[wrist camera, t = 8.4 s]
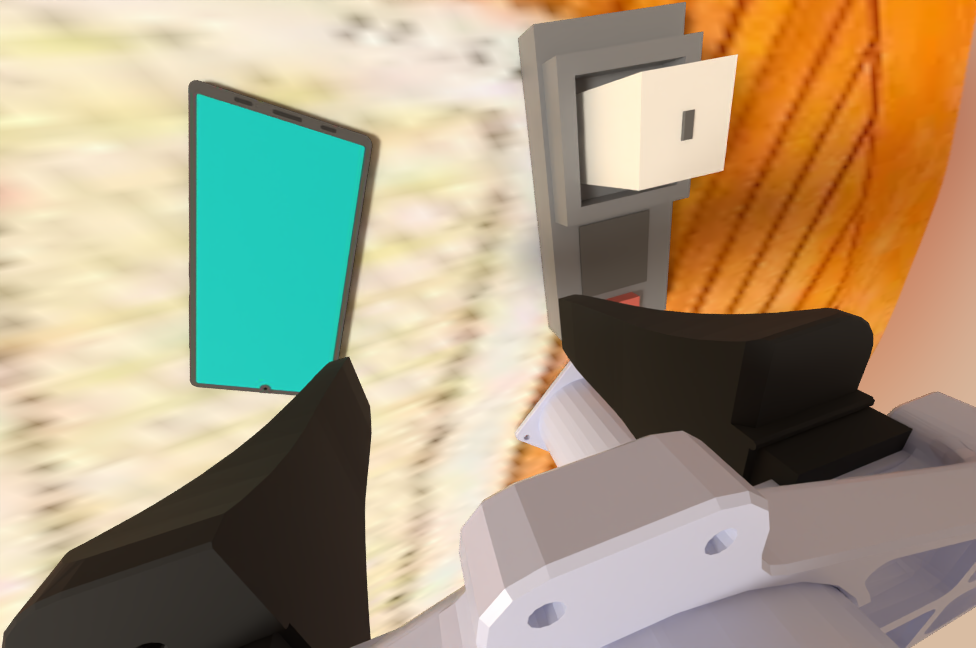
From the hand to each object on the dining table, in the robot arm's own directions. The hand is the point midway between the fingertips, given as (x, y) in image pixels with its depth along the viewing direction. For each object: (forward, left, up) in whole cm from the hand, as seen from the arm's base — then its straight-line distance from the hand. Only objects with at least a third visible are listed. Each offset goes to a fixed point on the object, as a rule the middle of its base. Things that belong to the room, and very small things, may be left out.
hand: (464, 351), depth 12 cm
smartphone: (+7, +4, -10) cm, 13 cm away
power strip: (-7, -8, -10) cm, 15 cm away
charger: (-4, -11, -8) cm, 14 cm away
